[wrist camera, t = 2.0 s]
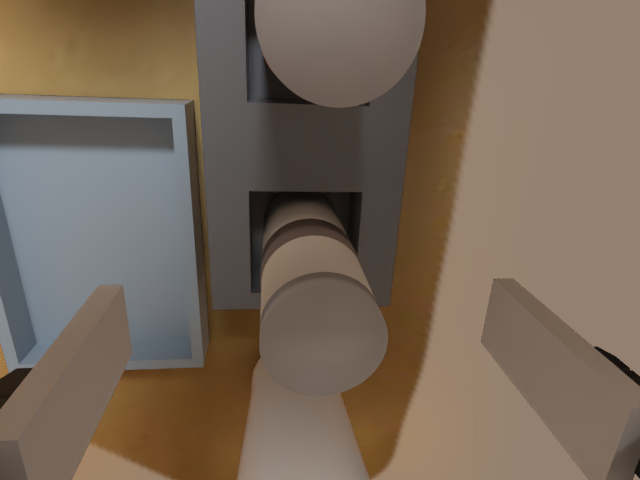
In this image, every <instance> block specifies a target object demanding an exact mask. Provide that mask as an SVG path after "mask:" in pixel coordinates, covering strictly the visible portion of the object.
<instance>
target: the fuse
mask: <svg viewBox="0 0 640 480" xmlns="http://www.w3.org/2000/svg"><path fill="white" fill-rule="evenodd" d="M254 15H255V27H256V32H257V37H258V41H259V44H260V47H261V50H262V53H263V56H264V58H265V60H266V63H267V64H268V66H269V67H270V69H271V70H272V72H273V73H274V74H275V75H276V76H277V77H278V79H279V80H280V81H281V82H282V83H283V84H284V85H285V86H286V87H287V88H288V89H290V90H291V91H292V92H294V93H295V94H296V95H298V96H300V97H302V98H303V99H305V100H307V101H310V102H312V103H315V104H318V105H322V106H326V107H335V108H344V107H352V106H358V105H361V104H364V103H367V102H370V101H372V100H374V99H376V98H378V97H379V96H381V95H383V94H384V93H386V92H387V91H388V90H389V89H391V88H392V87H393V86H394V85H395V84H396V83H397V82H398V81H399V80H400V79H401V78H402V77H403V76H404V74H405V73H406V71H407V70H408V69H409V67H410V66H411V64H412V62H413V60H414V58H415V56H416V54H417V52H418V49H419V47H420V44H421V40H422V37H423V33H424V27H425V20H426V0H255V10H254Z"/></svg>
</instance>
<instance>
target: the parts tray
mask: <svg viewBox="0 0 640 480" xmlns="http://www.w3.org/2000/svg"><path fill="white" fill-rule="evenodd" d="M113 284H123V288H124V295H125V303H126V310H127V317H128V324H129V332H130V339H131V346H132V355H131V358H130V360H129V362H128V364H127V366H126V368H125V370H140V369H168V368H196V367H204V363H205V359H206V354H207V349H208V345H209V329H208V314H207V298H206V283H205V268H204V252H203V237H202V222H201V206H200V191H199V176H198V160H197V145H196V130H195V114H194V100H171V99H141V98H110V97H79V96H49V95H18V94H0V343H1V346H2V350H3V353H4V357H5V361H6V364H7V368H8V371H9V373H10V372H12V371H13V370H15V369H16V368H33V367H34V366H35V365H36V364H37V362H38V361H39V360H40V359H41V357H42V356H43V355H44V354H45V352H46V351H47V350H48V348H49V347H50V346H51V345H52V343H53V342H54V341H55V340H56V338H57V337H58V336H59V335H60V333H61V332H62V331H63V330H64V328H65V327H66V326H67V324H68V323H69V322H70V321H71V319H72V318H73V317H74V316H75V314H76V313H77V312H78V311H79V309H80V308H81V307H82V305H83V304H84V303H85V302H86V300H87V299H88V298H89V297H90V295H91V294H92V293H93V292H94V290H95V289H96V288H97V287H98V285H113Z"/></svg>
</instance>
